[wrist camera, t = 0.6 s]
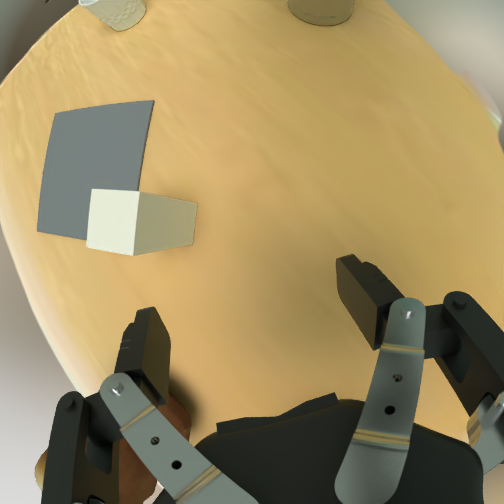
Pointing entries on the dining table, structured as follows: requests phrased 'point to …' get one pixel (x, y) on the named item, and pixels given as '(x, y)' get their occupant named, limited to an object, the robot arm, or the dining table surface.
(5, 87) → the dining table surface
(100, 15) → the white cup
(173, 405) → the butternut squash
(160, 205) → the cream block
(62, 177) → the mat
